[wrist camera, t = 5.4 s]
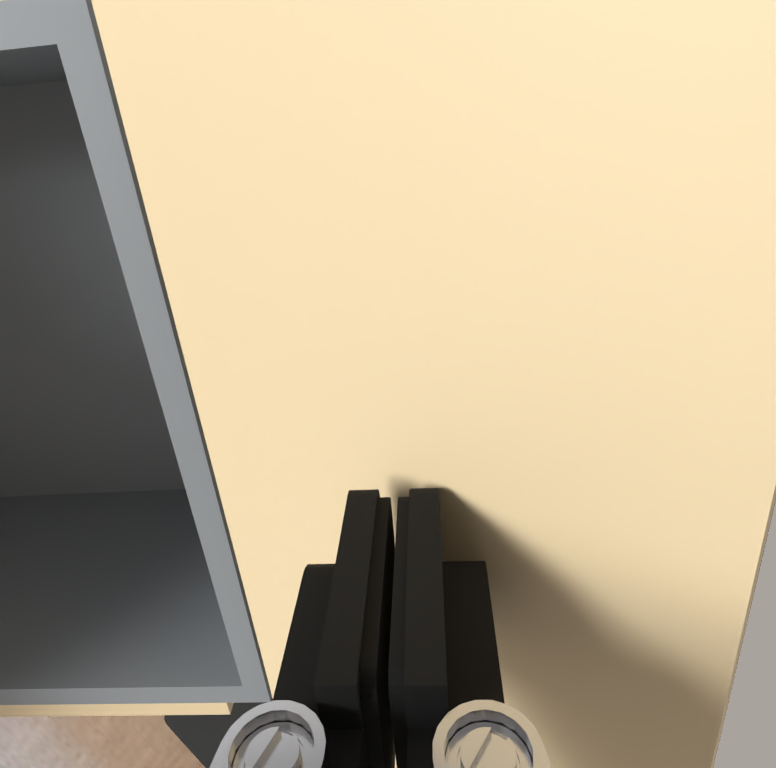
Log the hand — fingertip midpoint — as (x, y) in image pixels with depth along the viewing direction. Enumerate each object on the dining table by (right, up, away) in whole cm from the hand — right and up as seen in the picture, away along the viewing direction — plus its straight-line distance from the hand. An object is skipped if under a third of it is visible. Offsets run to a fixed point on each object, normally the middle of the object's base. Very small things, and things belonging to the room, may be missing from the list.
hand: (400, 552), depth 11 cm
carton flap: (0, 0, +1) cm, 1 cm away
